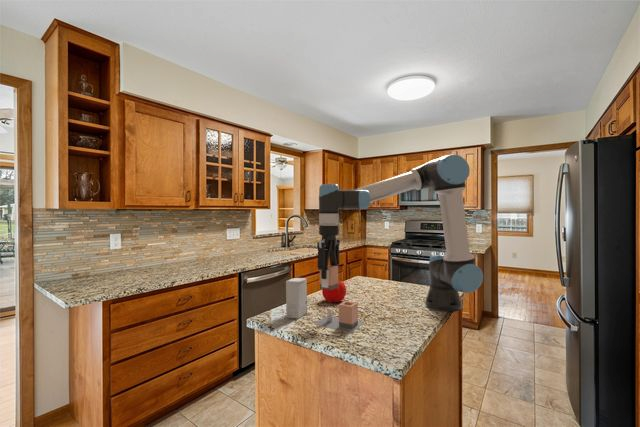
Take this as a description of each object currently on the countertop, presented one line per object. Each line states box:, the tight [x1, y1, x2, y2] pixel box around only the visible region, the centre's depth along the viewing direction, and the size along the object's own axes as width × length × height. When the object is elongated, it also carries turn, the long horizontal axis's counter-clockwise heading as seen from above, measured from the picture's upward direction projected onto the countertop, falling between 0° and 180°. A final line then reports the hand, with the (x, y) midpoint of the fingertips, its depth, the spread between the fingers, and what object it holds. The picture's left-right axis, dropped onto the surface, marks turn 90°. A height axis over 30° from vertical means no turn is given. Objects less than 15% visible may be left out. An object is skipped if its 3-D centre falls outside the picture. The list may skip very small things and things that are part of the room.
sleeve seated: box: [338, 300, 359, 329], centre depth 114 cm, size 5×5×8 cm
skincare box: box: [285, 277, 308, 320], centre depth 127 cm, size 8×6×15 cm
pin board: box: [313, 307, 365, 334], centre depth 116 cm, size 16×11×6 cm
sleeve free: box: [319, 264, 339, 290], centre depth 118 cm, size 5×5×8 cm
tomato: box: [321, 280, 347, 303], centre depth 146 cm, size 12×12×10 cm
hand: (329, 285), depth 118 cm, fingers closed on sleeve free, 5 cm apart
